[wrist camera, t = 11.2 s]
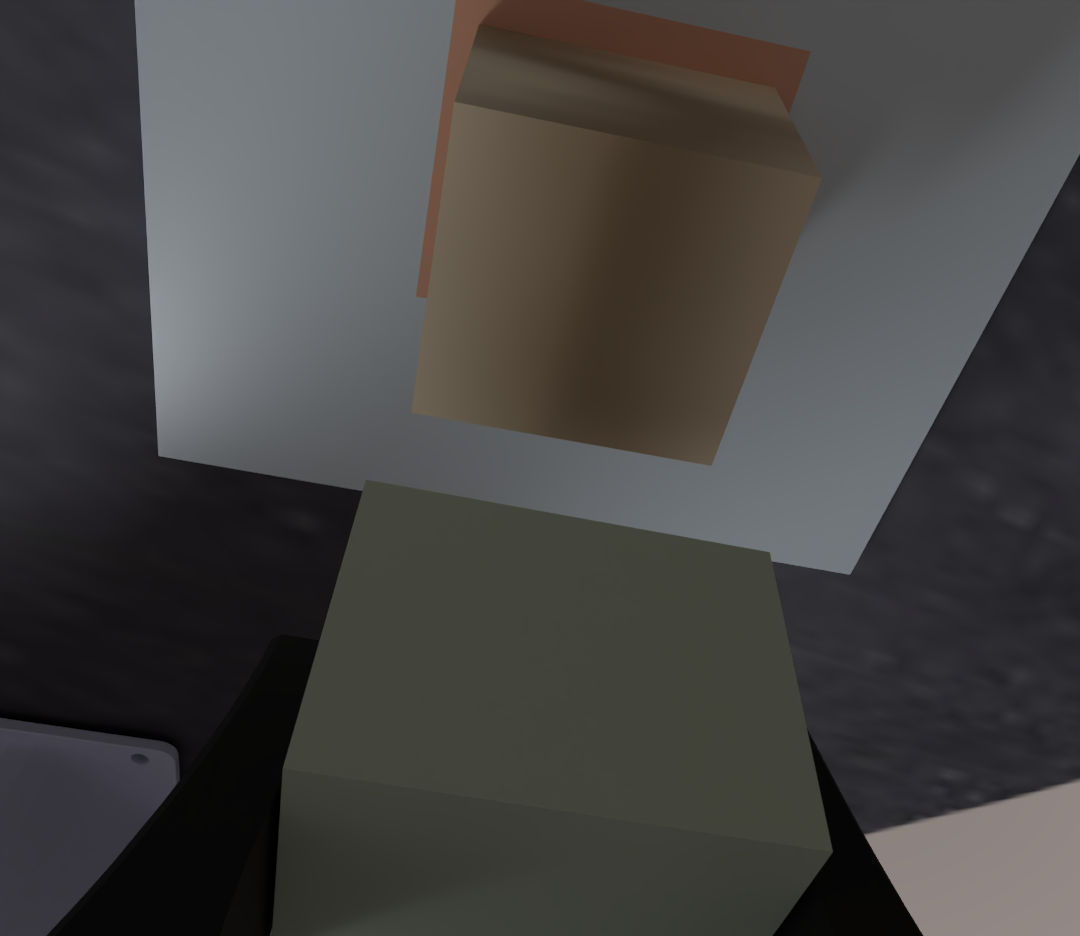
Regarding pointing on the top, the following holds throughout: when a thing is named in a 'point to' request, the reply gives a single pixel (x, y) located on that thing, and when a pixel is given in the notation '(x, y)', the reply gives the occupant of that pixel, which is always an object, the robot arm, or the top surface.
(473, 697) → the sage block
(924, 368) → the baseplate
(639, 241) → the beech block
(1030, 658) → the top surface
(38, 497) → the top surface
